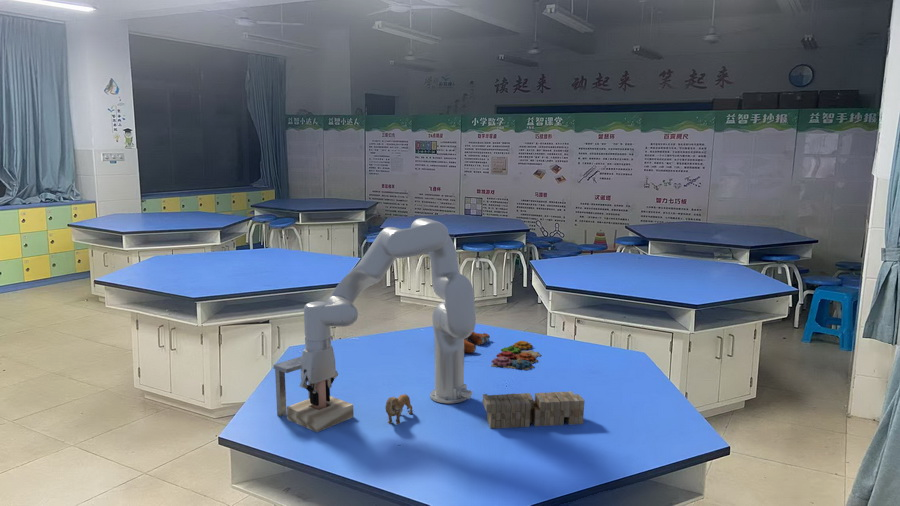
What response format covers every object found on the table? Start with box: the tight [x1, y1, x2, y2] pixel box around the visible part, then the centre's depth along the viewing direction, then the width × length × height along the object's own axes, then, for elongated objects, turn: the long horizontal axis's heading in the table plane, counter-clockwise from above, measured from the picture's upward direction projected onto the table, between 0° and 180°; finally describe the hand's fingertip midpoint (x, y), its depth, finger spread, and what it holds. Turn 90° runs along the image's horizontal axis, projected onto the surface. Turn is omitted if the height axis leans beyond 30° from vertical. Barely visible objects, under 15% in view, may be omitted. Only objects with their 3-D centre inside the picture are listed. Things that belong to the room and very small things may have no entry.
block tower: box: [482, 390, 585, 429], centre depth 192 cm, size 8×8×29 cm
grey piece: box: [273, 355, 313, 418], centre depth 199 cm, size 6×15×16 cm, turn 140°
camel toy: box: [464, 331, 491, 354], centre depth 265 cm, size 25×13×17 cm
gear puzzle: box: [491, 340, 542, 371], centre depth 253 cm, size 31×16×4 cm, turn 162°
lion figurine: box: [385, 394, 414, 425], centre depth 194 cm, size 15×5×9 cm, turn 164°
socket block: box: [286, 395, 355, 433], centre depth 195 cm, size 14×14×4 cm
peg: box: [314, 380, 326, 410], centre depth 194 cm, size 4×4×11 cm
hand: (320, 401), depth 194 cm, fingers closed on peg, 3 cm apart
